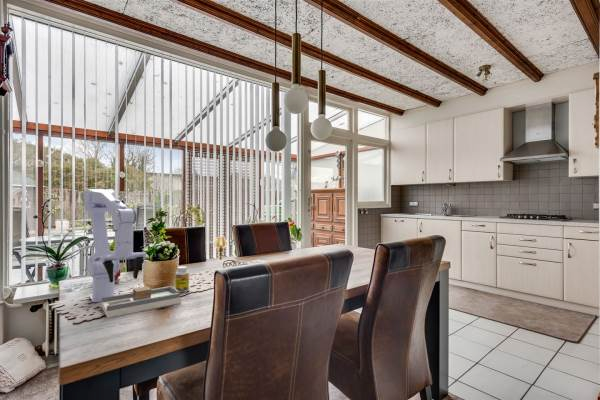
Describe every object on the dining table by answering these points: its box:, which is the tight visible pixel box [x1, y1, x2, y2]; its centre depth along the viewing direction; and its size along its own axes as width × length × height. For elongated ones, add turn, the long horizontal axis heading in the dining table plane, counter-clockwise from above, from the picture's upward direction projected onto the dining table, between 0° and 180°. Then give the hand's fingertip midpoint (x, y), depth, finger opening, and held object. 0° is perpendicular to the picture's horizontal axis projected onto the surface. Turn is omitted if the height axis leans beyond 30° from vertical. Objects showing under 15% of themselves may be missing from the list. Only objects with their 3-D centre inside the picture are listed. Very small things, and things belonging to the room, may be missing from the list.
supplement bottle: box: [174, 265, 190, 293], centre depth 133 cm, size 6×6×10 cm
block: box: [132, 285, 152, 301], centre depth 114 cm, size 5×5×4 cm
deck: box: [100, 285, 182, 319], centre depth 114 cm, size 14×24×4 cm, turn 130°
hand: (123, 279), depth 109 cm, fingers open, 7 cm apart
